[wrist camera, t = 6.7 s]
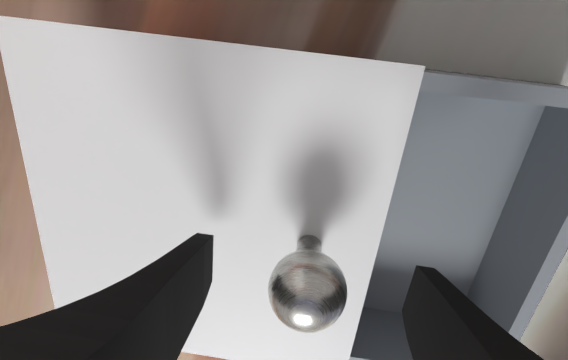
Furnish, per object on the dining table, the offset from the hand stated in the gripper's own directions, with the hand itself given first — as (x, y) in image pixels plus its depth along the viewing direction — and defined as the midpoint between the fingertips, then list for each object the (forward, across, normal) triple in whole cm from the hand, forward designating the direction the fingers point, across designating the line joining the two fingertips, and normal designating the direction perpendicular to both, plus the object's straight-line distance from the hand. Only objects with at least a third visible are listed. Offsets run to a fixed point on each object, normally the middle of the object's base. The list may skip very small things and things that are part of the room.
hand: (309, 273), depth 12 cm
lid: (+2, +5, 0) cm, 5 cm away
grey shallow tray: (+6, -3, 0) cm, 7 cm away
